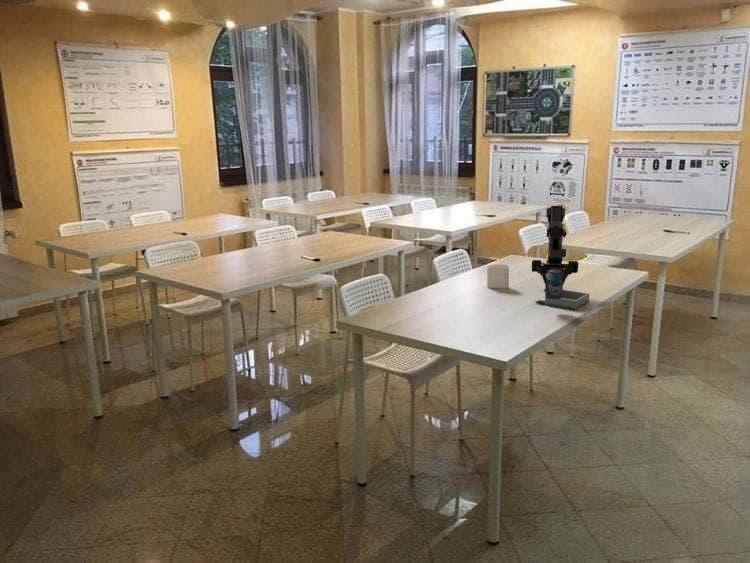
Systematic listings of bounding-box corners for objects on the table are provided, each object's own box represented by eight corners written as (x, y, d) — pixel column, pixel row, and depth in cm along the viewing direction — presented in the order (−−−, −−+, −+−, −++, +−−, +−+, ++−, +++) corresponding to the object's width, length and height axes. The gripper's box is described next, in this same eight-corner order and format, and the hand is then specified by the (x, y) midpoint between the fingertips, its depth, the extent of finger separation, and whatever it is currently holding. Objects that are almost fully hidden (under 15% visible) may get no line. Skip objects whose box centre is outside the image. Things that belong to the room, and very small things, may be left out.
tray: (544, 305, 276) (545, 296, 275) (558, 297, 286) (559, 289, 285) (575, 310, 267) (576, 301, 266) (589, 302, 277) (589, 293, 276)
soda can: (549, 301, 261) (550, 273, 258) (542, 296, 267) (543, 269, 264) (565, 299, 262) (566, 271, 259) (557, 295, 269) (558, 267, 266)
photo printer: (486, 288, 305) (486, 263, 302) (487, 286, 309) (488, 261, 306) (507, 289, 302) (508, 264, 299) (509, 287, 306) (509, 262, 303)
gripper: (532, 241, 265) (530, 273, 257) (579, 241, 260) (579, 274, 253) (532, 255, 274) (530, 286, 267) (577, 256, 269) (577, 288, 262)
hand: (554, 283), depth 262 cm, fingers closed on soda can, 7 cm apart
